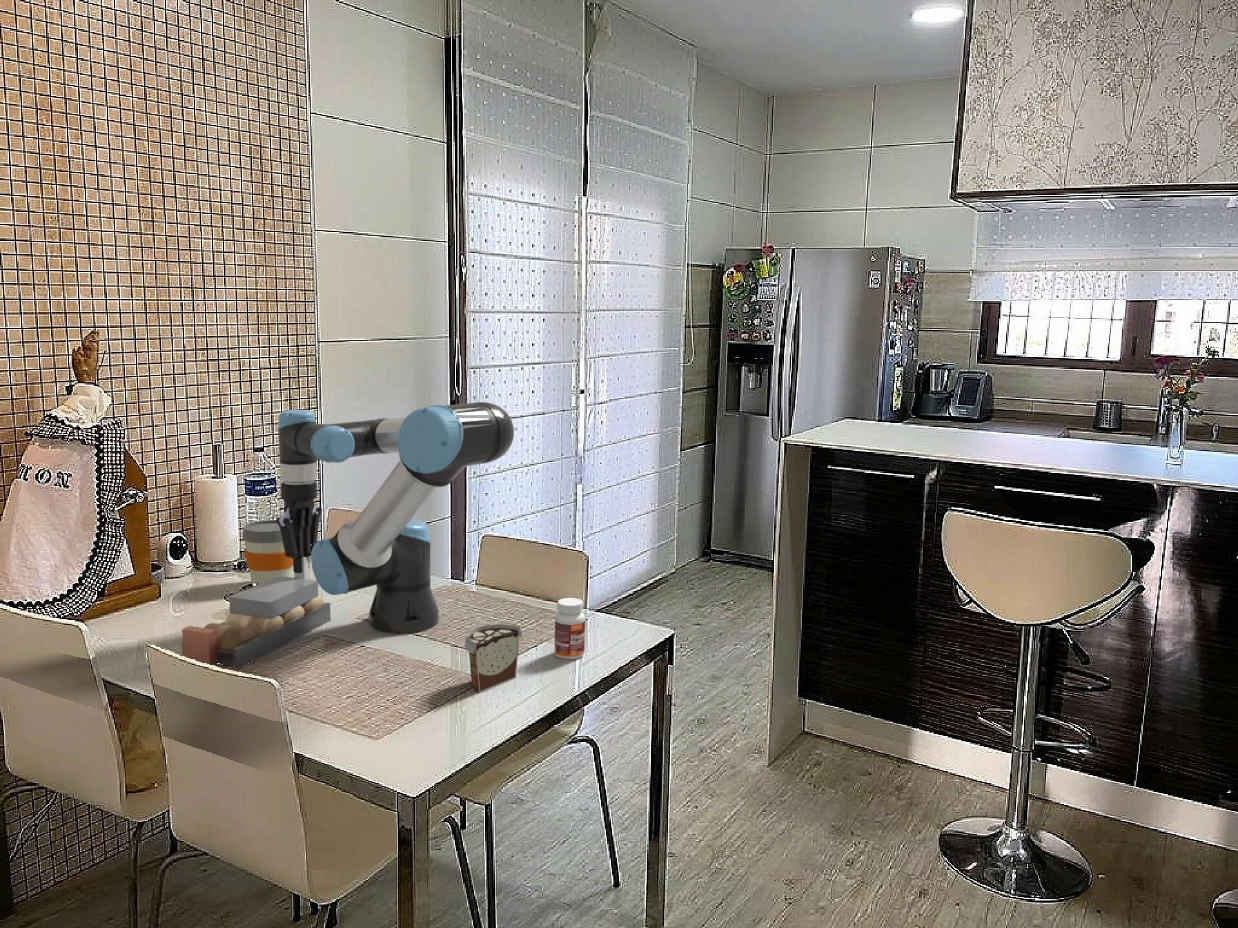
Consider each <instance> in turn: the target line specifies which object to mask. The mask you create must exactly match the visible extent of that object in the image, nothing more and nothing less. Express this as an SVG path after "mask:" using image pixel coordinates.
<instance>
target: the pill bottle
mask: <svg viewBox="0 0 1238 928" xmlns="http://www.w3.org/2000/svg"><path fill="white" fill-rule="evenodd" d="M556 609H557V611H558V612H557V613H556V614H555V616H554V655H555V656H556V657H557V658H559V659H561V660H562V659H563V660H569V661H571V660H572V661H573V660H577V659H580V658H582V657H584V655H585V650H586V649H585V648H586V646H585V645H586V644H585V640H586V616H585V614H584V613H583V610H584V602H583V600H582V599H580V598H577V597H576V598H575V597H564V598H561V599H559V600H558V601H557V607H556Z"/></svg>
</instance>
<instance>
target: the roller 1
mask: <svg viewBox="0 0 1238 928" xmlns="http://www.w3.org/2000/svg"><path fill="white" fill-rule="evenodd" d="M203 628H207V629H214V630H216V646H217V649H219V650H225V651H232V652H233V649H234V648H236V647H238V646H240V645H242V644H244V643H246V642H248V641H250V640H252V639H254V638H256V637H257V634H256V632H255V631H254V630H253V629H249V628H243V627H236V626H229V625H223V624H220V623H215V622H210V623H208V624H206V625H205V626H204V627H203Z"/></svg>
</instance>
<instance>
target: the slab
mask: <svg viewBox="0 0 1238 928" xmlns="http://www.w3.org/2000/svg"><path fill="white" fill-rule="evenodd" d="M318 596H319V584H318V582H317V580H316V579H309V580H308V579H300V578H294V577H293V576H292V577H284V576H277V577H275V578H273V579H270V580H268V581H265V582H263V583H261V584H258V585H256V586H254V587H253V586H252V587H249V588H246V589H245V590H242V591H240V592H237V593H236V594H232V595H230V596H228V599H229V603H228V604H229V614H230V613H232V614H239V615H246V616H253V617H260V618H267V619H272V618H274V617H276V616H279V615H281V614H283V613H285V612H287V611H289V610H291V609H293V608H295V607H297V606H299V605H301V604H303V603H305V602H307V601H309V600H311V599H313V598H316V597H318Z"/></svg>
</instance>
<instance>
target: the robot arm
mask: <svg viewBox="0 0 1238 928" xmlns="http://www.w3.org/2000/svg"><path fill="white" fill-rule="evenodd" d="M315 415H316V414H315V413H314V412H313V411H312V410H307V409H290V410H289V409H288V410H283V411H281V412H280V413H279V414H278V428H277V431H278V432H277V433H278V435H277V436H278V450H279V451H278V453H279V455H278V456H279V469H280V470H279V471H280V474H279V475H280V481H281V483H280V498H281V500H283V501H284V508H283V515H282V516H281V517H279V516H278V517H276V519H275V520H276V522H277V524H278V525H279V527H280V531H281V536H282V541H283V545H284V550H285V555H286V557H290V558H292V559H293V566H292V572H293V573H294V577H293V578H300V579H308V580H310V562H311V568H312V572H313V575H314V578H315V580H316V581H317V582H318V586H320V588H321V589H322V590H323V591H324V592H325V593H327V594H329V595H331V596H339V595H347V594H349V593H351V592H354V591H359V590H362V589H366V588H369V587H374V586H376V590H375V593H374V596H373V600H372V603H371V605H370V609H369V611H368V612H369V613H368V625H369V626H370V627H371V628H372V629H374V630H375V631H380V632H384V633H391V634H406V633H407V634H409V633H415V632H421V631H424V630H428V629H430V628H433V627H434V626H436V625H437V624H438V623H439V620H440V617H439V616H440V614H439V613H440V611H439V608H438V605H437V602H436V599H435V596H434V593H433V590H432V587H431V544H432V541H431V533H430V532H431V531H430V527H429V525H427V523H425V522H423V521H419V520H416V519H413V518H414V516H416V514H417V513H418V512H419V510H420V509H421V508H422V507H423V505H424V504H425V503H426V502H427V501H428V500H429V499H430V497H431V495H433V493H434V492H435V491H436V489H437V488H444V487H447V486H449V485H450V484H451V483H452V482H453V481H454V480H455V479H456V477H458V475H459V474H460V473H461V471H462V470H464V469H465V468H466V467H470V466H476V465H477V466H478V465H482V464H487V463H492V462H495V461H497V460H499V459H500V458H502V456H504V455H505V454H506V453H507V452H508V451H509V450H510V449H511V446H512V445H513V441H514V437H515V436H514V435H515V428H514V423H513V421H512V419H511V417H510V415H509V414H508V413H507V412H506V410H504V408H502V407H501V406H499V405H497V404H495V403H490V402H484V401H481V402H480V401H479V402H477V401H476V402H469V403H468V402H467V403H459V404H448V405H441V404H440V405H439V404H435V405H434V404H433V405H429V406H426V407H420V408H418V409H415V410H413V411H411V412H410V413H409V414H408V415H407V416H406V417H395V418H386V417H385V418H377V419H376V418H375V419H369V420H368V419H367V420H359V421H350V422H338V423H337V422H336V423H329V424H328V423H326V424H325V423H317V421H316V416H315ZM381 454H383V455H385V454H398V457H399V461H398V463H396V465H395V466H394V468H393V469H392V471H391V472H390V473H389V475H387V477H386V479H385V480H384V481H383V483H382V484H381V485H380V487H379V488H378V489H377V491H376V492H375V494H374V495H373V496H372V498H371V499H370V500H369V501H368V503H367V504H366V506H365V507H364V508H363V510H362V511H361V512H360V513H359V515H358V517H357V518H355V519H350V520H348V521H346V522H345V523H344V524H343V525H341V527H340V528H339V529H338V530H337V532H336V533H335V535H334V536H332V537H331V538H323V539H320V540H319V541H318V535H319V533H318V532H319V525H320V518H321V514H322V511H323V508H322V507H321V506H320V507H318V506H316V505H315V499H317V497H318V483H317V482H316V481H315V480H317V479H318V469H317V466H318V465H317V460H319V461H322V462H325V463H327V464H328V463H330V464H331V463H333V464H334V463H335V464H340V463H343V462H345V461H347V460H348V459H350V458H354V457H355V458H356V457H362V456H371V455H381Z"/></svg>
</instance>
